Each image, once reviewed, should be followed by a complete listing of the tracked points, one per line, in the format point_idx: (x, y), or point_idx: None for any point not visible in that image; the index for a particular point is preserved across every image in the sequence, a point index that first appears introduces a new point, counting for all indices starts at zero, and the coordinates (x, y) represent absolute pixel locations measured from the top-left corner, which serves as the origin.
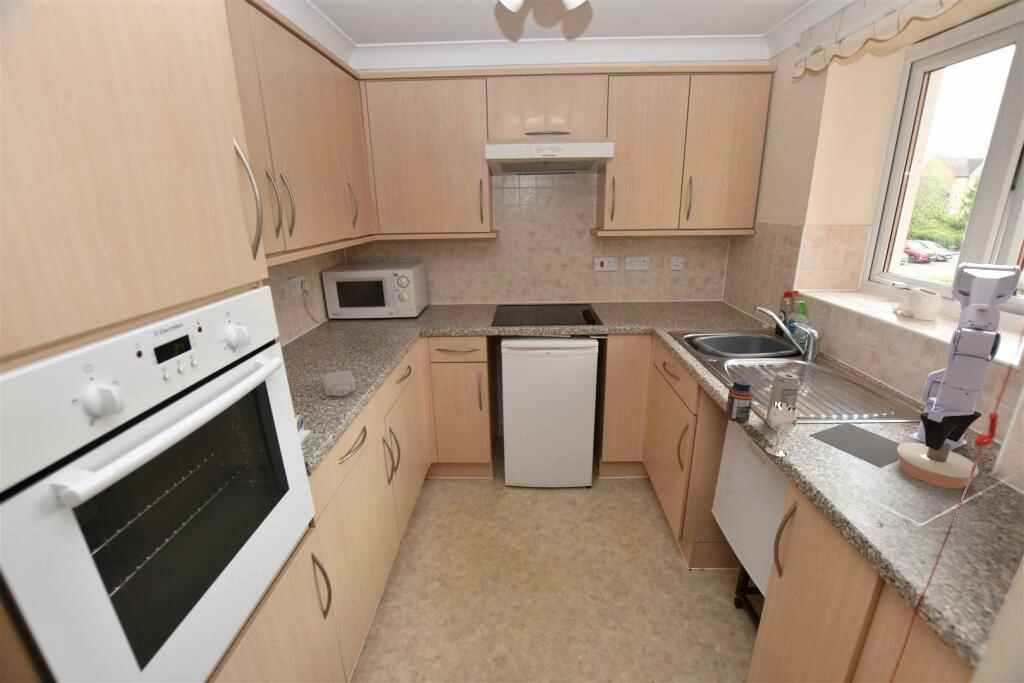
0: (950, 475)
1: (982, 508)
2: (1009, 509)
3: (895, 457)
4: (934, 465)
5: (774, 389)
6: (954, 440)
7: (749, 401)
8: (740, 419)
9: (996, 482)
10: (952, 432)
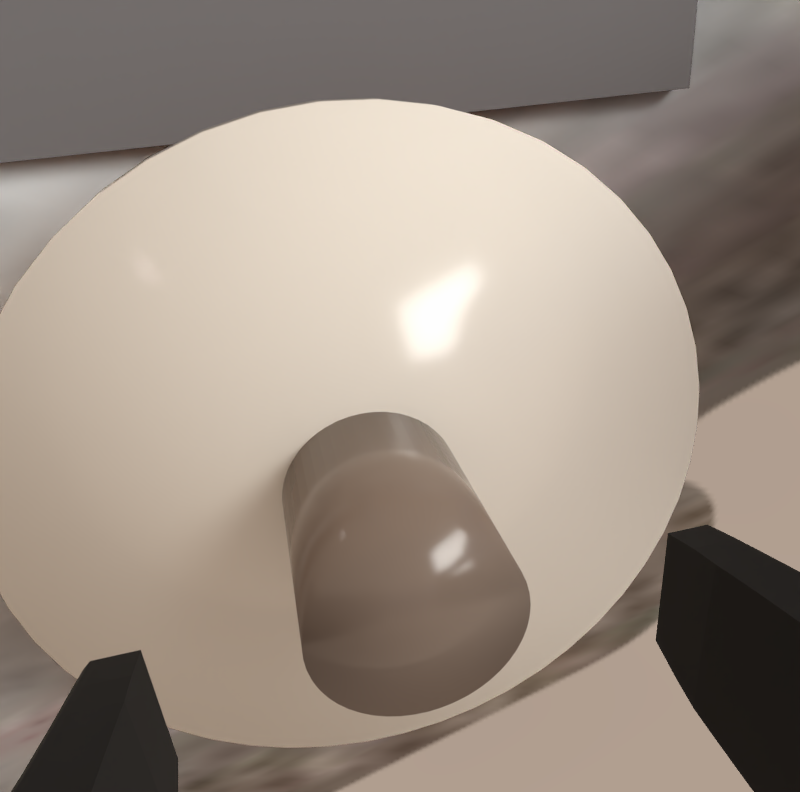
0: None
1: (212, 741)
2: (367, 757)
3: (284, 82)
4: (172, 591)
5: None
6: (664, 638)
7: None
8: None
9: (659, 564)
10: (749, 686)
